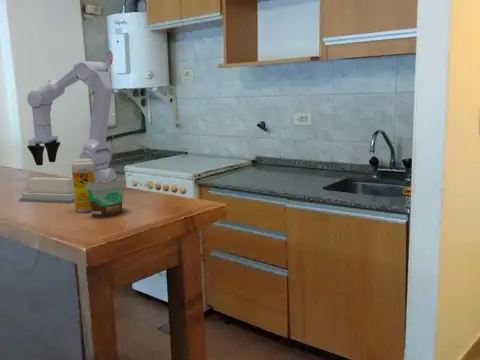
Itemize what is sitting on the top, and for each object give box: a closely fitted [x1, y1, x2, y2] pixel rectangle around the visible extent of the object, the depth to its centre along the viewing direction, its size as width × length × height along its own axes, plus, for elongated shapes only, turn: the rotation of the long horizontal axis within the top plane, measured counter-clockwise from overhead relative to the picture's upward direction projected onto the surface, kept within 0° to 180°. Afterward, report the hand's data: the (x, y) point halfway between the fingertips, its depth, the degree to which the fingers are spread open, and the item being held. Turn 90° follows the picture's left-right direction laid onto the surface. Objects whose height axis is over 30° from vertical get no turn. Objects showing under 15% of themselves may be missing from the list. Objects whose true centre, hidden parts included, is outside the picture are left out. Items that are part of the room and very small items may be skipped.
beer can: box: [71, 158, 95, 213], centre depth 144 cm, size 6×6×15 cm
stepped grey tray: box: [18, 190, 75, 204], centre depth 161 cm, size 18×9×2 cm, turn 77°
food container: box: [86, 175, 126, 218], centre depth 140 cm, size 12×6×10 cm, turn 148°
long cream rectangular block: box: [28, 176, 74, 195], centre depth 161 cm, size 14×3×6 cm, turn 77°
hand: (46, 163), depth 176 cm, fingers open, 7 cm apart
